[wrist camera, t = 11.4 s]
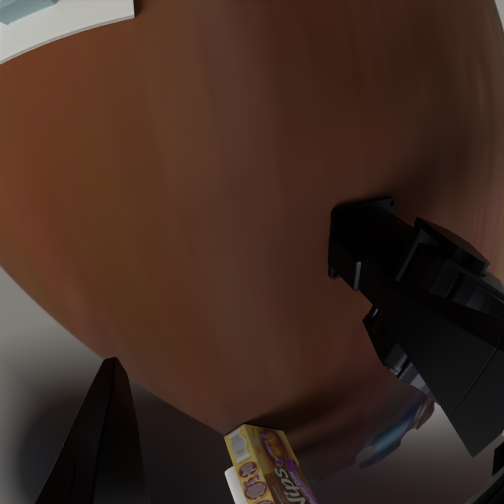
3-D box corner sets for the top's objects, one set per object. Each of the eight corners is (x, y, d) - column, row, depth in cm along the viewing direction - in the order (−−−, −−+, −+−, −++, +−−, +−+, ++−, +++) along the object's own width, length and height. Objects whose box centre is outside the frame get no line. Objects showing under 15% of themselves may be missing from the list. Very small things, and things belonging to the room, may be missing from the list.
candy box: (220, 437, 35) (258, 537, 23) (243, 422, 35) (287, 526, 22) (263, 444, 40) (301, 527, 28) (284, 430, 40) (327, 515, 27)
